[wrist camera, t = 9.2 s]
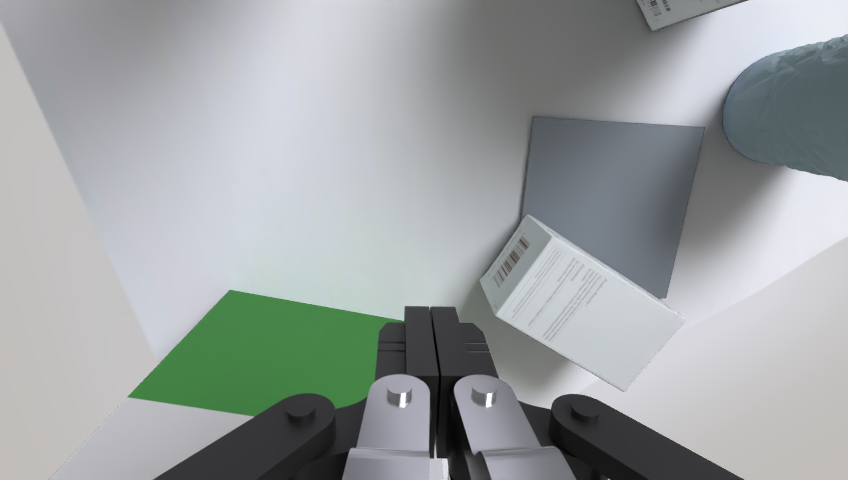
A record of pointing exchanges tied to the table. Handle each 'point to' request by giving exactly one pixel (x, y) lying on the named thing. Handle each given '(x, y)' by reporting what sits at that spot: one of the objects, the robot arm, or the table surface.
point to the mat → (614, 191)
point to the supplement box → (577, 304)
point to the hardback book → (232, 383)
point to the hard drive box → (679, 10)
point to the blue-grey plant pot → (794, 109)
